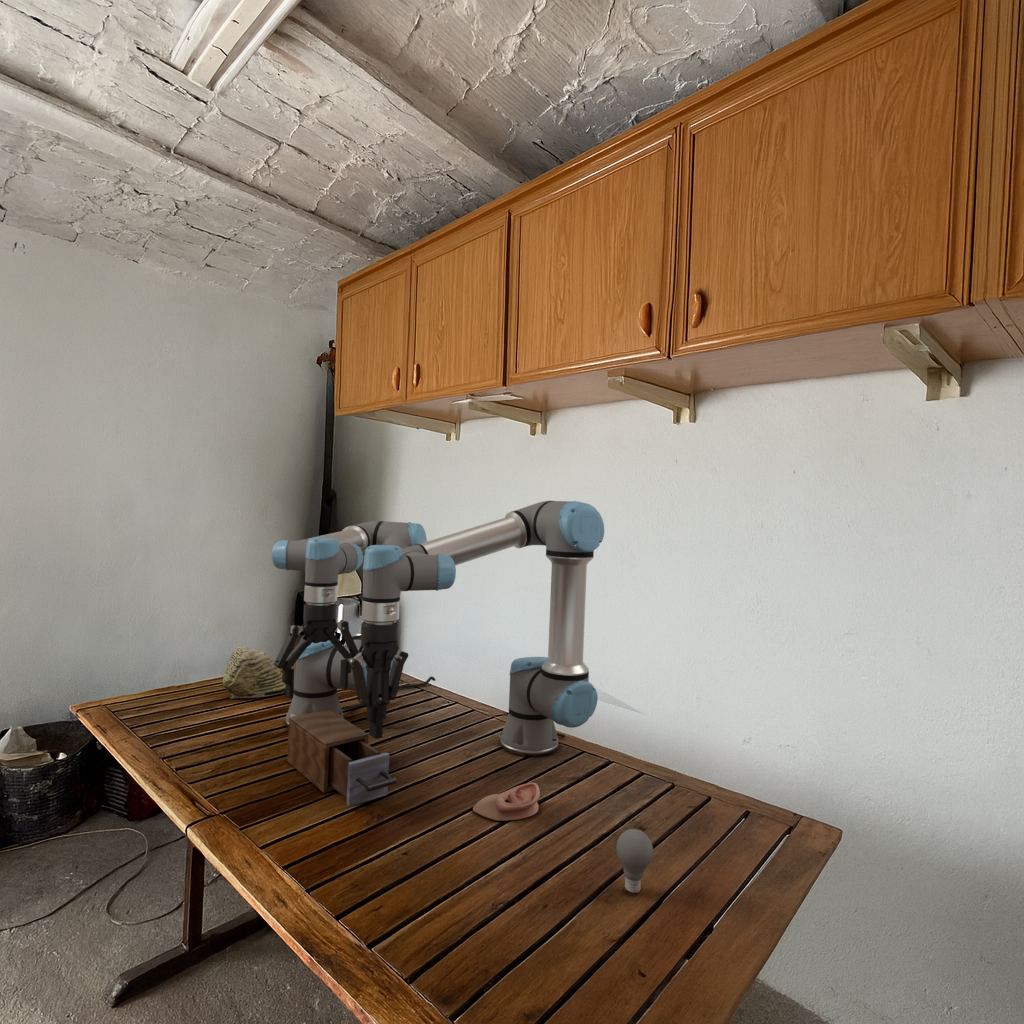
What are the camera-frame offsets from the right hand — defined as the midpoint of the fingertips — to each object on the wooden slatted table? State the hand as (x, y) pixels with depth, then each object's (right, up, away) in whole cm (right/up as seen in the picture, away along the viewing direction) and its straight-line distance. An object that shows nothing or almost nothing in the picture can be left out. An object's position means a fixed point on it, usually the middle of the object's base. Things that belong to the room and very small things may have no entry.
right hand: (375, 736), depth 129 cm
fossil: (-53, -12, +69) cm, 87 cm away
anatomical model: (+27, -16, +3) cm, 31 cm away
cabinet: (-15, -14, +17) cm, 27 cm away
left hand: (-18, +3, +21) cm, 28 cm away
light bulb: (+48, -18, -24) cm, 56 cm away
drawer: (-6, -14, +7) cm, 16 cm away
